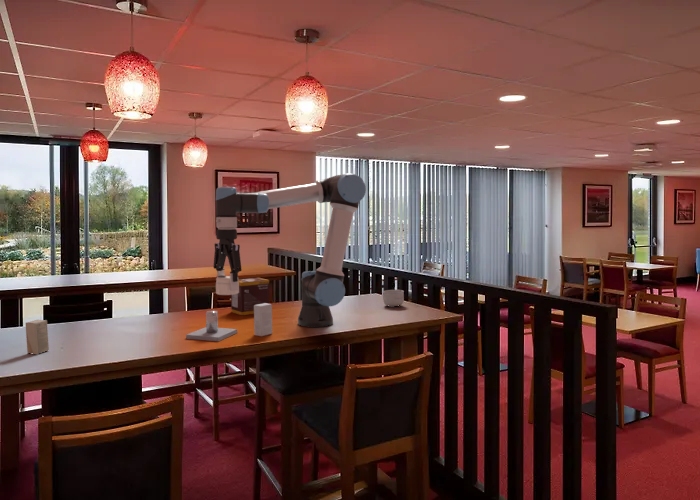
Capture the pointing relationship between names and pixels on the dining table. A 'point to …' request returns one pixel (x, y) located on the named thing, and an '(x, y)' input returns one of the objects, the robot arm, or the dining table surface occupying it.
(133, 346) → the dining table surface
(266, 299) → the supplement box
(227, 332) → the board
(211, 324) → the post
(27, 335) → the box
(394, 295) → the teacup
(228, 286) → the white lidded jar
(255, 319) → the skincare box
